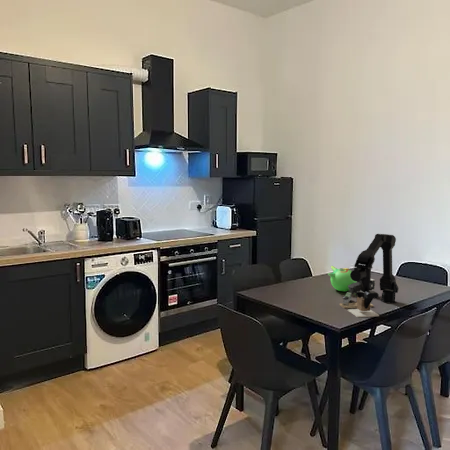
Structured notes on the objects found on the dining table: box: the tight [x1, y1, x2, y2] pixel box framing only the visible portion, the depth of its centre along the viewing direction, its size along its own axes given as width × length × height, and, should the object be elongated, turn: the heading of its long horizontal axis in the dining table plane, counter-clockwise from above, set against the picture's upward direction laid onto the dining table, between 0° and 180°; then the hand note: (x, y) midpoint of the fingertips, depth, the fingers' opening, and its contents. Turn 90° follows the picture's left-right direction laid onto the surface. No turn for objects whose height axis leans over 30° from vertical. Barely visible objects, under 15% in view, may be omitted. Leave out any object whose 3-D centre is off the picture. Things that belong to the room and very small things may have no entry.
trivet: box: [347, 308, 380, 318], centre depth 227 cm, size 12×11×1 cm
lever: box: [342, 291, 353, 305], centre depth 244 cm, size 16×3×4 cm, turn 156°
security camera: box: [369, 278, 376, 291], centre depth 261 cm, size 6×7×10 cm
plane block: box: [339, 302, 374, 309], centre depth 239 cm, size 17×6×1 cm, turn 101°
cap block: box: [356, 296, 372, 311], centre depth 227 cm, size 5×5×7 cm
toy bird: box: [327, 265, 357, 292], centre depth 270 cm, size 18×17×15 cm
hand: (363, 307), depth 227 cm, fingers closed on cap block, 5 cm apart
